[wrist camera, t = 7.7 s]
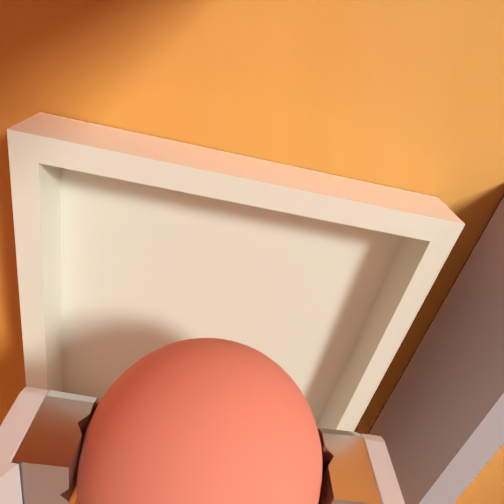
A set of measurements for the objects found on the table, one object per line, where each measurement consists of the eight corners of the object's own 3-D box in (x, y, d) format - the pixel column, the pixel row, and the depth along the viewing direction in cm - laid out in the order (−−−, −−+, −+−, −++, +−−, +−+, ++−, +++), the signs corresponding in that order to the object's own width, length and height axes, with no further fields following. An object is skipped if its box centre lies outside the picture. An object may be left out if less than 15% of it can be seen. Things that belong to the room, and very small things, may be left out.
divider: (548, 186, 11) (662, 255, 8) (379, 458, 17) (408, 557, 14) (513, 178, 11) (616, 245, 8) (356, 455, 17) (380, 553, 14)
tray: (438, 197, 11) (465, 224, 10) (322, 436, 16) (329, 476, 15) (40, 111, 10) (6, 128, 8) (50, 399, 15) (30, 439, 13)
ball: (332, 312, 10) (394, 540, 6) (280, 439, 13) (297, 666, 8) (123, 275, 9) (19, 498, 5) (111, 417, 12) (35, 648, 8)
